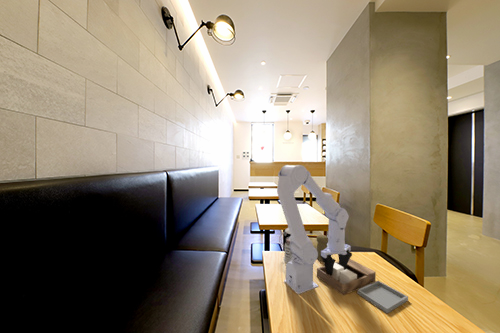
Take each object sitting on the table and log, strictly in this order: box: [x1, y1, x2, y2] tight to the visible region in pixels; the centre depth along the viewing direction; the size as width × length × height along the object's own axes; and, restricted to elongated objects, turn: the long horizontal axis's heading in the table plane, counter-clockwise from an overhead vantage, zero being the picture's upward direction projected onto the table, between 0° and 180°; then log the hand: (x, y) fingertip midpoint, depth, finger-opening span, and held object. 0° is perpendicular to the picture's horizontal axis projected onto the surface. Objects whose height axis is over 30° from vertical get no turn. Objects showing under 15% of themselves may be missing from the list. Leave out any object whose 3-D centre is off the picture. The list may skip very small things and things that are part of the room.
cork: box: [315, 234, 329, 262], centre depth 85 cm, size 6×6×11 cm
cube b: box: [340, 269, 357, 285], centre depth 66 cm, size 4×4×4 cm
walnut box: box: [316, 258, 377, 296], centre depth 69 cm, size 18×12×4 cm, turn 116°
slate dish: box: [357, 280, 409, 314], centre depth 60 cm, size 12×9×2 cm
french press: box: [278, 227, 293, 264], centre depth 83 cm, size 10×12×25 cm
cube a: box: [328, 263, 344, 280], centre depth 71 cm, size 4×4×4 cm
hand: (336, 271), depth 71 cm, fingers open, 7 cm apart
